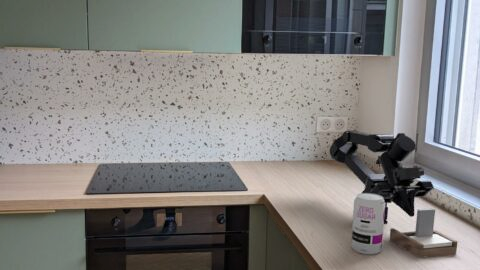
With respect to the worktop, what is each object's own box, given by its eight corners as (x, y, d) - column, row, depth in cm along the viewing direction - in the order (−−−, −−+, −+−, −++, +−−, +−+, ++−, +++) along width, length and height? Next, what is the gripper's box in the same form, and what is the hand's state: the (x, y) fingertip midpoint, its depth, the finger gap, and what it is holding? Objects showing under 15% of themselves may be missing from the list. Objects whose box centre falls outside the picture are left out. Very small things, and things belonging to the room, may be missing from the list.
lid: (408, 240, 147) (410, 209, 146) (435, 237, 150) (438, 207, 149) (423, 248, 141) (426, 216, 140) (451, 245, 144) (455, 214, 143)
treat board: (389, 240, 153) (390, 228, 153) (424, 236, 157) (425, 225, 157) (419, 257, 141) (420, 245, 140) (456, 253, 145) (457, 241, 144)
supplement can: (376, 244, 149) (380, 192, 147) (385, 255, 141) (389, 201, 139) (347, 243, 149) (351, 192, 147) (355, 255, 141) (359, 200, 139)
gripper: (379, 156, 152) (398, 204, 143) (433, 154, 158) (455, 201, 149) (362, 176, 160) (379, 223, 152) (413, 173, 167) (433, 218, 158)
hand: (412, 216), depth 153 cm, fingers closed
